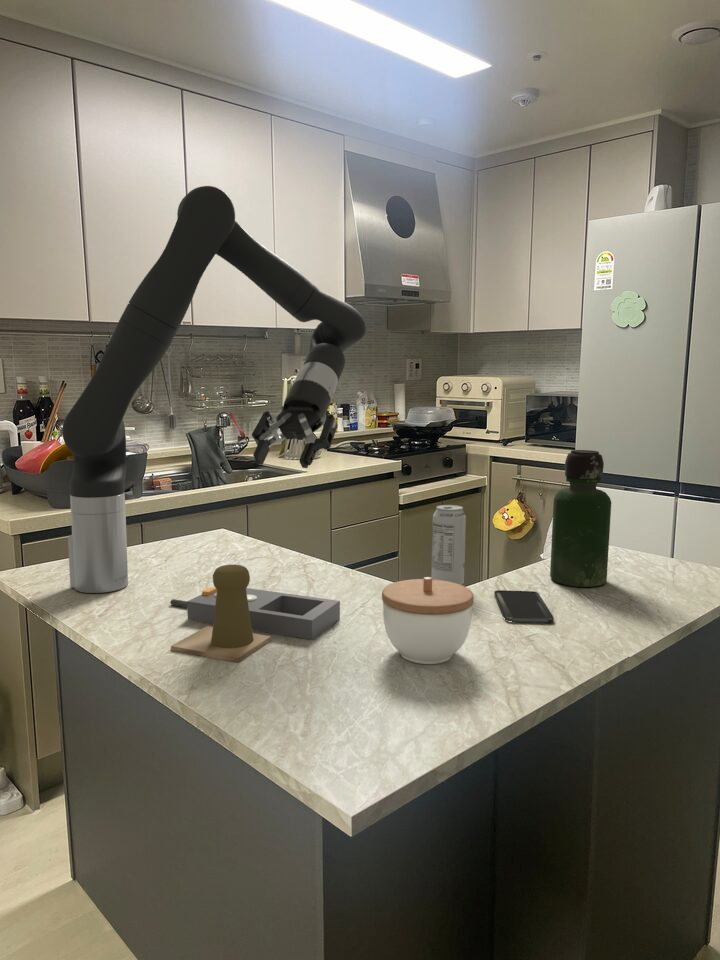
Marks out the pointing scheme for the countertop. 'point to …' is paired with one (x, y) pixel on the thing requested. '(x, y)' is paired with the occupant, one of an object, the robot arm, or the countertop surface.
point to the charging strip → (272, 612)
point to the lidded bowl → (427, 618)
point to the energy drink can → (448, 544)
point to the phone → (523, 607)
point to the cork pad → (203, 646)
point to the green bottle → (581, 524)
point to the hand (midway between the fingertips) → (280, 463)
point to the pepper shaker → (231, 607)
